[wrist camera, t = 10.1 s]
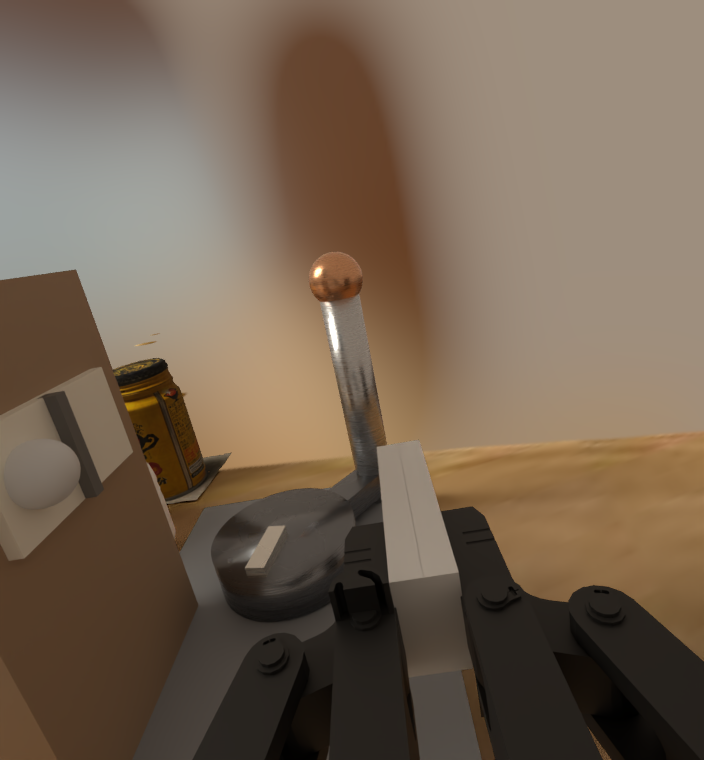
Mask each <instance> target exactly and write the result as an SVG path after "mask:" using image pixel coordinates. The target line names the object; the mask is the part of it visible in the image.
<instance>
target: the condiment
mask: <svg viewBox="0 0 704 760" xmlns="http://www.w3.org/2000/svg"><path fill="white" fill-rule="evenodd" d="M167 366H168V365H167V363H166V362H165V360H163V359H159V358H153V359H148V360H143V361H138V362H135V363H131V364H128V365H125V366H122V367H119V368H116V369H113V372H114V375H115V378H116V381H117V383H118V386H119V389H120V392H121V394H122V397H123V400H124V402H125V405H126V408H127V411H128V413H129V416H130V419H131V422H132V424H133V427H134V430H135V433H136V435H137V438H138V441H139V444H140V446H141V449H142V452H143V454H144V457H145V460H146V462H147V463H148V464H149V465H150V467H151V468H152V470H153V472H154V473H155V475H156V477H157V482H158V484H159V486H160V490H161V492H162V494H163V496H164V499H165V502H166V504H170V503H176V502H180V501H189V500H197V499H198V497H199V496H200V495H201V494H202V492H203V491H204V490H205V489H206V488H207V486H208V485H209V484H210V483H211V481H212V479H214V477H215V475H216V474H217V472H218V470H219V469H220V468H221V467H222V465H223V464H224V463H225V462H226V460H227V458H228V457H229V456H230V454H231V453H227V454H224V455H218V456H211V457H206V458H203V457H202V454H201V451H200V448H199V445H198V442H197V439H196V436H195V432H194V430H193V427H192V424H191V421H190V418H189V415H188V412H187V409H186V406H185V403H184V399H183V397H182V393H181V390H180V388H179V387H178V386H177V385H176V384H175V383H174V382H173V377H172V376H171V374H170V373H169V371H168V367H167ZM209 471H210V472H209Z"/></svg>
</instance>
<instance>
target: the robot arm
mask: <svg viewBox="0 0 704 760" xmlns="http://www.w3.org/2000/svg"><path fill="white" fill-rule="evenodd" d="M377 456H378V467H379V478H380V489H381V500H382V511H383V522H380V523H373V524H367V525H361V526H355V527H352V528H351V530H350V531H349V533H348V535H347V536H346V538H345V548H344V553H345V555H344V572H342V573H341V574H339V575H338V576H337V577H336V578H335V579H334V580H333V581H332V583H331V585H330V588H329V591H328V594H329V597H330V601H331V605H332V609H333V613H334V617H335V622H334V623H333V625H332V626H331V627H329V628H328V629H327V630H326V631H324V632H322V633H321V634H319V635H317V636H315V637H313V638H310V639H308V640H306V641H303V642H301V641H300V640H299V639H298V638H297V637H296V636H295V635H292V634H289V633H276V634H272V635H269V636H267V637H265V638H262V639H261V640H260V641H259V642H257V643H256V644H255V645H254V646H252V648H251V649H250V650H249V652H248V653H247V654H246V656H245V657H244V659H243V661H242V663H241V665H240V667H239V669H238V671H237V673H236V675H235V677H234V679H233V681H232V683H231V685H230V687H229V689H228V691H227V693H226V695H225V697H224V699H223V701H222V703H221V704H220V706H219V708H218V710H217V712H216V714H215V716H214V718H213V720H212V722H211V724H210V726H209V728H208V730H207V732H206V734H205V736H204V738H203V740H202V742H201V744H200V746H199V748H198V750H197V751H196V753H195V755H194V757H193V759H192V760H326V759H327V755H328V752H329V760H420V755H419V747H418V738H417V730H416V722H415V714H414V706H413V699H412V694H411V689H410V684H409V677H415V676H422V675H430V674H437V673H444V672H452V671H459V670H466V669H473V667H474V671H475V676H476V683H477V689H478V696H479V703H480V709H481V716H482V717H485V721H486V725H487V729H488V733H489V737H490V740H491V744H492V748H493V752H494V756H495V760H603V759H602V757H601V755H600V753H599V751H598V749H597V747H596V744H595V742H594V740H593V738H592V736H591V734H590V731H589V729H590V730H591V732H592V733H593V734H594V736H595V737H596V739H597V740H598V741H599V743H600V744H601V745H602V747H603V748H604V750H605V751H606V752H607V754H608V755H609V756H610V758H611V759H612V760H704V661H702V660H701V659H700V658H699V657H698V656H697V655H696V654H695V653H693V652H692V651H691V650H690V649H689V648H688V647H687V646H685V645H684V644H683V643H682V642H681V641H680V640H679V639H678V638H676V637H675V636H674V635H673V634H672V633H671V632H670V631H669V630H667V629H666V628H665V627H664V626H663V625H662V624H661V623H660V622H658V621H657V620H656V619H655V618H654V617H653V616H652V615H650V614H649V613H648V612H647V611H646V610H645V609H644V608H643V607H641V606H640V605H639V604H638V603H637V602H636V601H635V600H634V599H632V598H631V597H629V596H627V595H626V594H624V593H623V592H621V591H618V590H616V589H613V588H610V587H605V586H595V585H593V586H588V587H582V588H580V589H579V590H577V591H575V592H574V593H573V594H572V596H571V597H570V599H569V603H568V602H559V601H551V600H545V599H540V598H537V597H535V596H532V595H530V594H528V593H526V592H525V591H523V589H522V588H521V587H520V585H518V584H517V583H515V582H514V580H513V579H512V577H511V574H510V572H509V570H508V568H507V566H506V563H505V561H504V559H503V557H502V554H501V552H500V550H499V548H498V545H497V543H496V541H495V539H494V536H493V534H492V532H491V530H490V528H489V525H488V523H487V521H486V519H485V516H484V515H483V514H481V513H480V512H479V511H477V510H476V509H475V508H474V507H466V508H459V509H453V510H447V511H440V508H439V505H438V501H437V498H436V494H435V491H434V488H433V484H432V481H431V478H430V474H429V471H428V468H427V464H426V461H425V458H424V454H423V451H422V448H421V444H420V441H419V440H414V441H409V442H403V443H397V444H391V445H385V446H379V447H377ZM587 726H588V727H587ZM588 728H589V729H588Z"/></svg>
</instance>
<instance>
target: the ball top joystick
mask: <svg viewBox="0 0 704 760" xmlns="http://www.w3.org/2000/svg"><path fill="white" fill-rule="evenodd" d="M362 283H363V276H362V271H361V269H360V266H359V265H358V263H357V262H356V261H355V260H354V259H353V258H352V257H351V256H349V255H347V254H345V253H342V252H330V253H326V254H324V255H322V256H321V257H319V258H318V259H317V260H316V261H315V262H314V264H313V266H312V267H311V270H310V273H309V285H310V288H311V291H312V293H313V294H314V296H315V297H316V298H317V299H318V300H319V301H320V305H321V309H322V314H323V318H324V323H325V328H326V332H327V337H328V342H329V347H330V351H331V356H332V361H333V366H334V370H335V375H336V380H337V384H338V389H339V394H340V398H341V403H342V408H343V413H344V418H345V422H346V427H347V431H348V436H349V441H350V446H351V450H352V455H353V460H354V465H355V469H356V470H354V471H353V472H352V473H350V474H349V475H348V476H346V477H345V478H344V479H342V480H341V481H340V482H338V483H337V484H336V485H334V486H333V487H332V488H330V489H329V490H324V489H314V488H305V489H295V490H289V491H285V492H280V493H277V494H274V495H271V496H268V497H265V498H263V499H261V500H258V501H256V502H254V503H252V504H251V505H249V506H247V507H245V508H244V509H242V510H241V511H239V512H238V513H237V514H235V515H234V516H233V517H232V518H230V519H229V520H228V521H227V522H226V523H225V524H224V525H223V526H222V528H221V529H220V530H219V531H218V533H217V535H216V536H215V538H214V541H213V543H212V547H211V558H212V562H213V565H214V568H215V571H216V574H217V577H218V580H219V583H220V585H221V588H222V591H223V594H224V597H225V600H226V602H227V604H228V605H229V606H230V608H231V609H232V610H233V611H234V612H236V613H237V614H239V615H240V616H242V617H245V618H247V619H250V620H255V621H262V622H279V621H285V620H290V619H294V618H298V617H301V616H304V615H307V614H310V613H312V612H314V611H316V610H318V609H320V608H322V607H323V606H325V605H327V604H328V603H330V602H331V601H330V597H329V594H328V591H329V588H330V585H331V583H332V581H333V580H334V579H335V578H336V577H337V576H338V575H339V574H341V573H342V572H344V555H345V553H344V548H345V538H346V536H347V535H348V533H349V531H350V530H351V528H352V527H355V526H356V522H355V518H357V517H358V516H359V515H360V514H361V513H362V512H364V511H365V510H366V509H367V508H368V507H369V506H371V505H372V504H373V503H380V502H382V500H381V489H380V478H379V467H378V456H377V447H379V446H385V445H387V442H386V437H385V431H384V426H383V420H382V415H381V409H380V404H379V399H378V393H377V388H376V383H375V377H374V372H373V366H372V361H371V356H370V350H369V345H368V340H367V334H366V329H365V323H364V318H363V313H362V307H361V302H360V297H359V293H360V291H361V288H362Z"/></svg>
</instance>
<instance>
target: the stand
mask: <svg viewBox="0 0 704 760" xmlns="http://www.w3.org/2000/svg"><path fill="white" fill-rule="evenodd" d="M329 489H330V488H326V489H324V490H329ZM258 500H261V499H257V500H251V501H245V502H238V503H232V504H226V505H220V506H213V507H207V508H204V510H203V512H202V513H201V515H200V517H199V519H198V520H197V522H196V524H195V526H194V528H193V529H192V531H191V533H190V535H189V537H188V538H187V540H186V542H185V544H184V546H183V547H182V549H181V551H180V553H179V550H178V548H177V545H176V542H175V539H174V537H173V534H172V531H171V528H170V526H169V523H168V520H167V517H166V515H165V512H164V509H163V506H162V504H161V501H160V498H159V496H158V493H157V490H156V487H155V485H154V482H153V479H152V476H151V474H150V471H149V468H148V465H147V463H146V460H145V457H144V454H143V452H142V449H141V446H140V444H139V441H138V438H137V435H136V433H135V430H134V427H133V424H132V422H131V419H130V416H129V413H128V411H127V408H126V405H125V402H124V400H123V397H122V394H121V392H120V389H119V386H118V383H117V381H116V378H115V375H114V372H113V370H112V367H111V364H110V361H109V359H108V356H107V353H106V350H105V348H104V345H103V342H102V339H101V337H100V334H99V332H98V329H97V326H96V323H95V320H94V318H93V315H92V312H91V309H90V307H89V304H88V302H87V298H86V296H85V293H84V290H83V287H82V285H81V282H80V279H79V277H78V274H77V271H76V270H71V271H63V272H56V273H48V274H42V275H34V276H28V277H20V278H13V279H6V280H0V760H192V759H193V757H194V755H195V753H196V751H197V750H198V748H199V746H200V744H201V742H202V740H203V738H204V736H205V734H206V732H207V730H208V728H209V726H210V724H211V722H212V720H213V718H214V716H215V714H216V712H217V710H218V708H219V706H220V704H221V703H222V701H223V699H224V697H225V695H226V693H227V691H228V689H229V687H230V685H231V683H232V681H233V679H234V677H235V675H236V673H237V671H238V669H239V667H240V665H241V663H242V661H243V659H244V657H245V656H246V654H247V653H248V652H249V650H250V649H251V648H252V646H254V645H255V644H256V643H257V642H259V641H260V640H261V639H262V638H265V637H267V636H269V635H272V634H276V633H289V634H292V635H295V636H296V637H297V638H298V639H299V640H300V641H301V642H303V641H306V640H308V639H310V638H313V637H315V636H317V635H319V634H321V633H322V632H324V631H326V630H327V629H328V628H329V627H331V626H332V625H333V623H334V622H335V617H334V613H333V609H332V605H331V602H330V603H328V604H327V605H325V606H323V607H322V608H320V609H318V610H316V611H314V612H312V613H310V614H307V615H304V616H301V617H298V618H294V619H290V620H285V621H279V622H262V621H255V620H250V619H247V618H245V617H242V616H240V615H239V614H237V613H236V612H234V611H233V610H232V609H231V608H230V606H229V605H228V604H227V602H226V600H225V597H224V594H223V591H222V588H221V585H220V583H219V580H218V577H217V574H216V571H215V568H214V565H213V562H212V558H211V547H212V543H213V541H214V538H215V536H216V535H217V533H218V531H219V530H220V529H221V528H222V526H223V525H224V524H225V523H226V522H227V521H228V520H229V519H230V518H232V517H233V516H234V515H235V514H237V513H238V512H239V511H241V510H242V509H244V508H245V507H247V506H249V505H251V504H252V503H254V502H256V501H258ZM355 522H356V526H361V525H367V524H373V523H380V522H383V511H382V502H380V503H373V504H372V505H371V506H369V507H368V508H367V509H366V510H365V511H364V512H362V513H361V514H360V515H359V516H358V517H357V518H355ZM409 684H410V689H411V694H412V699H413V706H414V714H415V722H416V730H417V738H418V747H419V755H420V760H482V759H481V754H480V750H479V745H478V741H477V737H476V732H475V728H474V724H473V719H472V715H471V711H470V706H469V702H468V697H467V693H466V689H465V684H464V680H463V676H462V671H461V670H459V671H452V672H444V673H437V674H430V675H422V676H415V677H409ZM326 760H329V752H328V755H327V759H326Z"/></svg>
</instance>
